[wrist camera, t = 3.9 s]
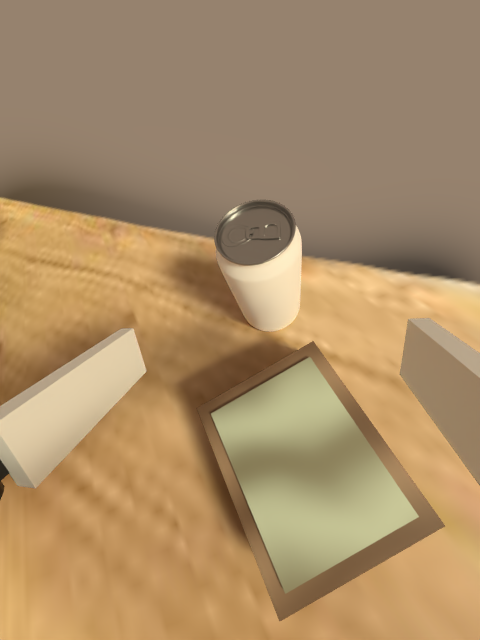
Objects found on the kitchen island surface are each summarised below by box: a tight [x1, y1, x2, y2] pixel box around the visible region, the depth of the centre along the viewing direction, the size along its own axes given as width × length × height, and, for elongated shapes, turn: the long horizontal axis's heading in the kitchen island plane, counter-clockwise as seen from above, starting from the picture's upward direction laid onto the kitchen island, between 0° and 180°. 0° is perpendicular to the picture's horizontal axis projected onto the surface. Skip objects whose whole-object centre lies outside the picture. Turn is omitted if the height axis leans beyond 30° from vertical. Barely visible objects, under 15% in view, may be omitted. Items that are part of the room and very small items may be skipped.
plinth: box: [197, 341, 445, 621], centre depth 18 cm, size 13×11×5 cm
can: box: [214, 200, 302, 331], centre depth 21 cm, size 6×6×12 cm
